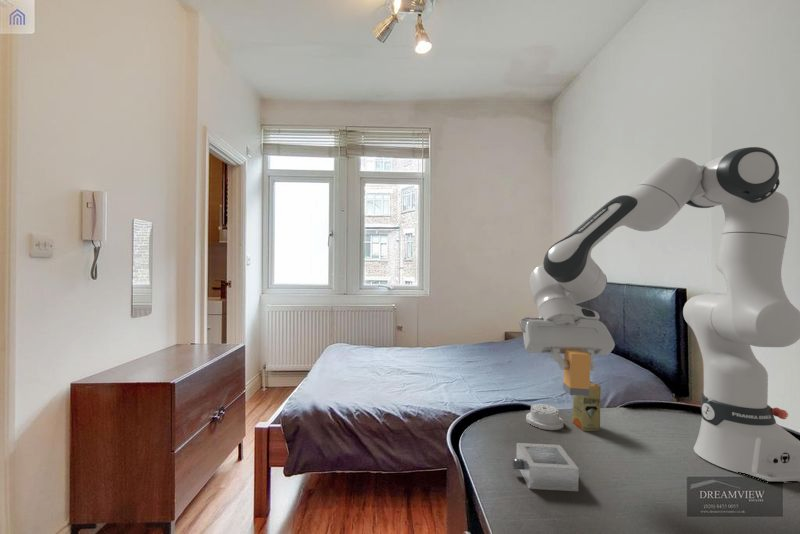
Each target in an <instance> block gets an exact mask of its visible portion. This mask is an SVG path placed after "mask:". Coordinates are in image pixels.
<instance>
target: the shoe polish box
mask: <svg viewBox="0 0 800 534" xmlns="http://www.w3.org/2000/svg"><path fill="white" fill-rule="evenodd" d="M601 387H602V386H600V385H598V384H596V383H594V382H592V381H590V382H589V396H582V395H572V424H573V425H574V426H576V427H577V428H578V429H580V430H581V431H583V432H584V431H588V432H590V431H591V432H592V431H593V432H594V431H595V432H596V431H600V429H601V426H600V425H601V393H602V392H601Z"/></svg>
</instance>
